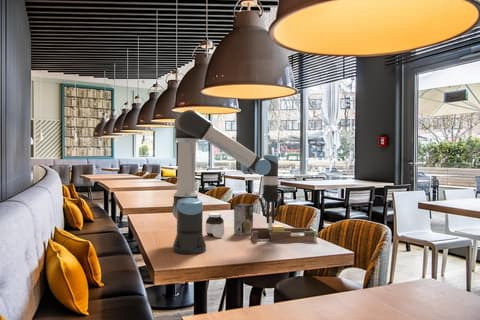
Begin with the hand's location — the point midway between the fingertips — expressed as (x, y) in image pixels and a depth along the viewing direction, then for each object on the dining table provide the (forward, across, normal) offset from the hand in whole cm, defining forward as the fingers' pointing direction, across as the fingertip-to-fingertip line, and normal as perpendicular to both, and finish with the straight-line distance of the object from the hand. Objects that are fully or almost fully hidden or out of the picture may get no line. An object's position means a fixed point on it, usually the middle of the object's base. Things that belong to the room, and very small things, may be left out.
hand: (270, 229), depth 212 cm
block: (+2, -4, 0) cm, 4 cm away
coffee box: (+5, +13, -15) cm, 21 cm away
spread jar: (+5, +28, -9) cm, 30 cm away
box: (+5, -7, 0) cm, 9 cm away
